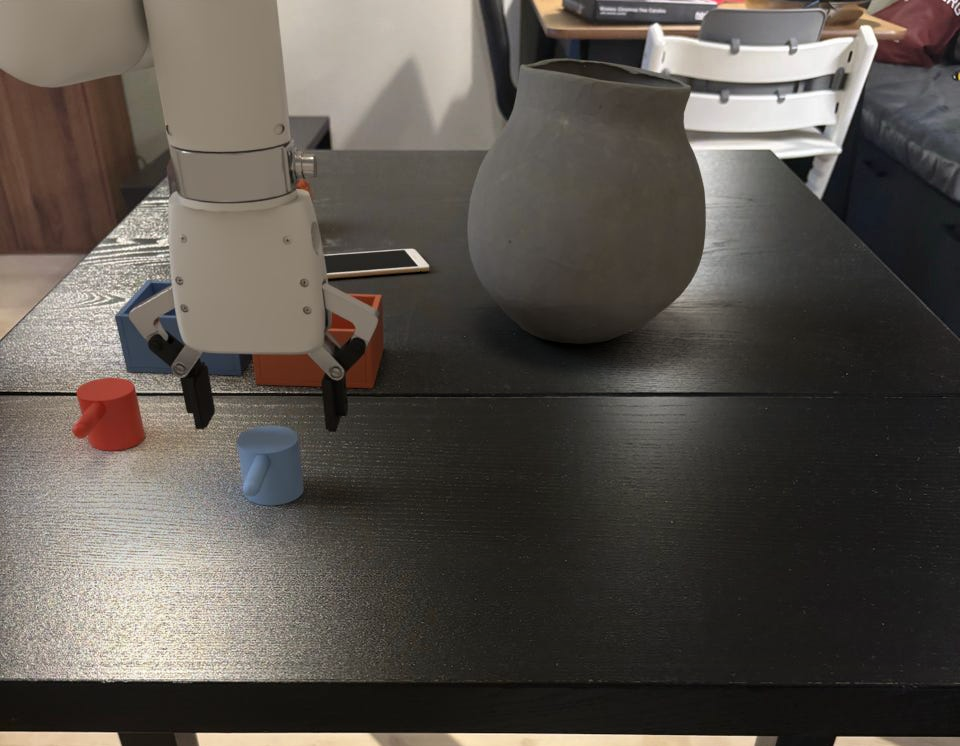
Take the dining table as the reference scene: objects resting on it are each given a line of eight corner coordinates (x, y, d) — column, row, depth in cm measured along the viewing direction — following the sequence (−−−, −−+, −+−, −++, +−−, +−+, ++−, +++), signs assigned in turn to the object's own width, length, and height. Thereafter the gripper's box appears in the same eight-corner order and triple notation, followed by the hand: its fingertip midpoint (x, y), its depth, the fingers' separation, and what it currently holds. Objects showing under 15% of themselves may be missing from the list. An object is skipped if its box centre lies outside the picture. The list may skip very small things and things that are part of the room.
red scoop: (99, 425, 82) (87, 376, 79) (152, 427, 82) (141, 378, 79) (60, 476, 75) (45, 425, 72) (118, 478, 75) (105, 426, 72)
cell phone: (291, 262, 118) (290, 256, 118) (414, 253, 122) (414, 248, 122) (301, 281, 113) (301, 276, 112) (430, 271, 117) (430, 266, 116)
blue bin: (126, 372, 91) (114, 315, 88) (157, 333, 99) (147, 280, 96) (241, 375, 91) (233, 319, 88) (263, 336, 99) (256, 283, 95)
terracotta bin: (256, 384, 89) (248, 328, 86) (276, 344, 97) (270, 290, 94) (373, 388, 89) (370, 331, 86) (383, 347, 97) (381, 294, 94)
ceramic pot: (713, 374, 94) (767, 88, 78) (472, 375, 92) (479, 83, 77) (660, 292, 113) (695, 49, 97) (459, 292, 111) (462, 45, 96)
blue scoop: (251, 475, 76) (243, 424, 73) (308, 477, 76) (302, 426, 73) (224, 537, 68) (215, 482, 66) (287, 539, 68) (280, 484, 66)
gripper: (377, 162, 62) (390, 403, 73) (118, 158, 63) (169, 399, 73) (363, 189, 56) (379, 448, 67) (78, 185, 57) (139, 443, 67)
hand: (270, 422), depth 70 cm, fingers open, 9 cm apart
